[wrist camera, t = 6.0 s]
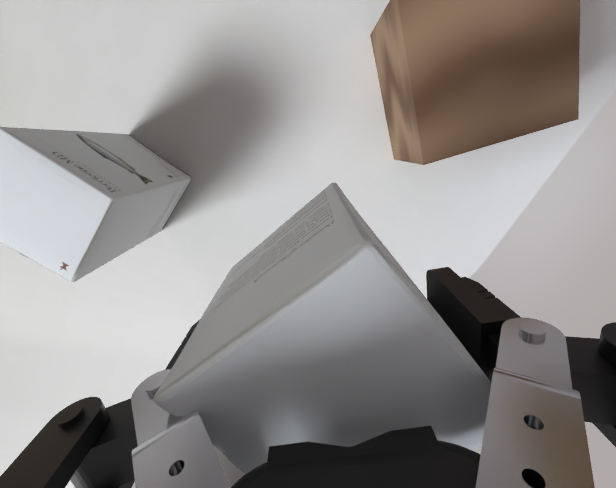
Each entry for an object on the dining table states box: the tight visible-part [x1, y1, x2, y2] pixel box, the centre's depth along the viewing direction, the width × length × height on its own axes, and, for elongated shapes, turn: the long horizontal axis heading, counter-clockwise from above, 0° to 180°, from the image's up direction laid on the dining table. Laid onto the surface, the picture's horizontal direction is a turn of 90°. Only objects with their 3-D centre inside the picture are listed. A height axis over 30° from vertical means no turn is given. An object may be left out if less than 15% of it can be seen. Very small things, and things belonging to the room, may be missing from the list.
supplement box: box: [0, 127, 191, 282], centre depth 24 cm, size 7×7×13 cm
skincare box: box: [154, 183, 491, 474], centre depth 10 cm, size 6×6×7 cm
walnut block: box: [370, 0, 580, 165], centre depth 23 cm, size 11×11×8 cm
